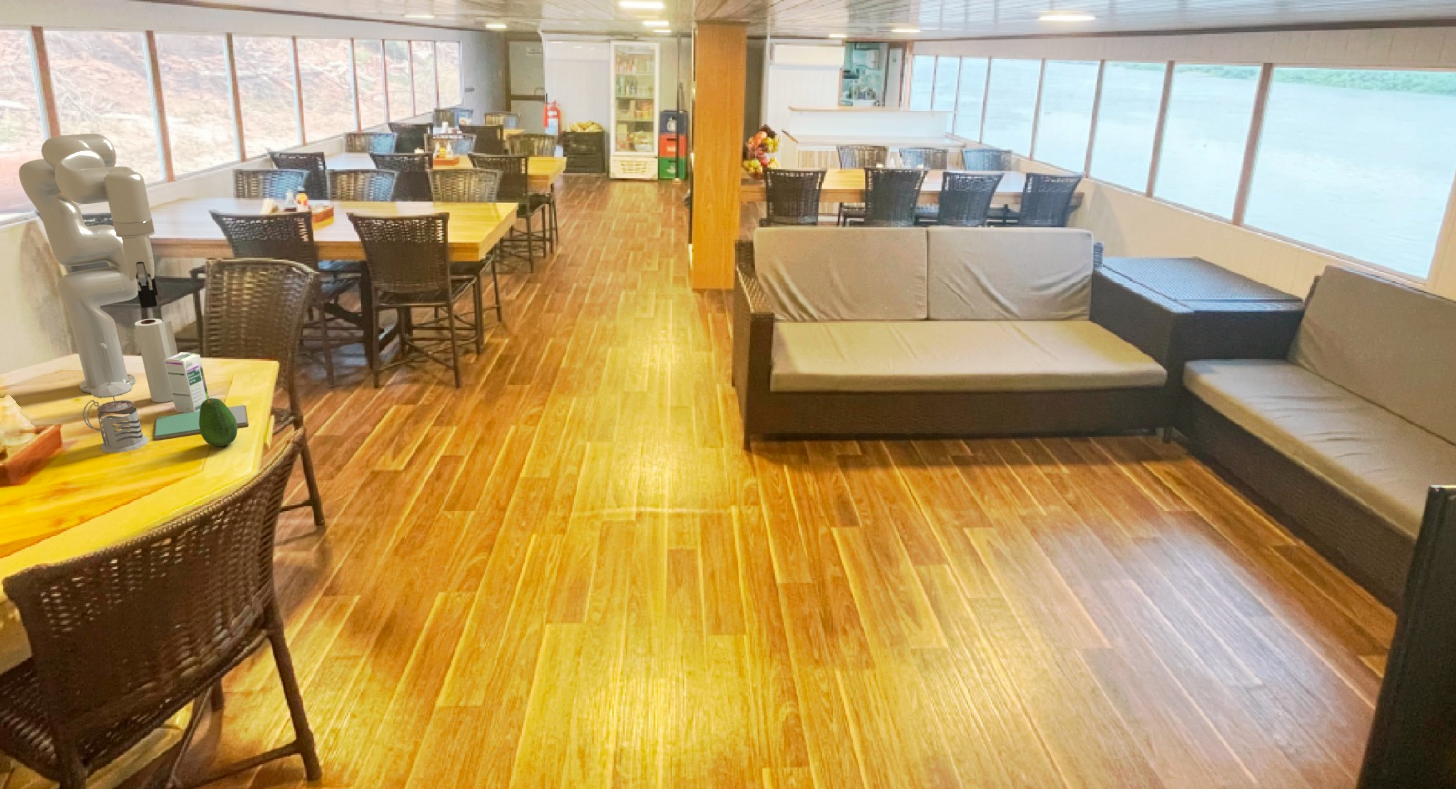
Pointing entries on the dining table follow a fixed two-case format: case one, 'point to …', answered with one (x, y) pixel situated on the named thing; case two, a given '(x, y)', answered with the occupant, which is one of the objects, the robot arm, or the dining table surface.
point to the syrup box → (186, 381)
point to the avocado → (217, 423)
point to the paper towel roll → (156, 355)
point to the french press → (113, 438)
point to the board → (191, 423)
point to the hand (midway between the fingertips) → (149, 301)
